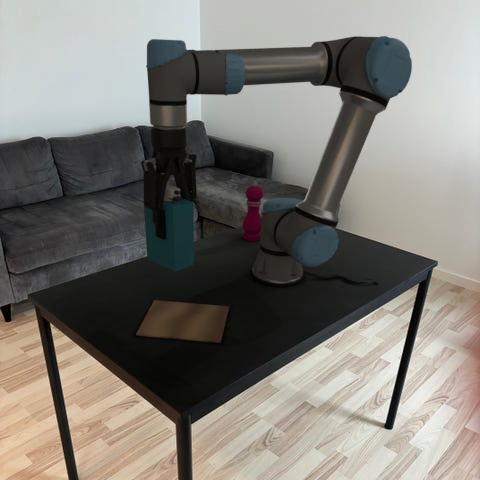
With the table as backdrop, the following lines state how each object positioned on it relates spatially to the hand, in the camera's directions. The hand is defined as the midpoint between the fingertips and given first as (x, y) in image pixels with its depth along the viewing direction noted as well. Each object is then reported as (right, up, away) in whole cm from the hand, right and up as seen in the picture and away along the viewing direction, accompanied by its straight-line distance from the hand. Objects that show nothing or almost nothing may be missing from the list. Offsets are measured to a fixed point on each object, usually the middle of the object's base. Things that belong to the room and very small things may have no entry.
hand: (172, 233), depth 110 cm
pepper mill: (+20, +9, +61) cm, 65 cm away
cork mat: (+2, -20, +9) cm, 22 cm away
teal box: (-4, +4, +3) cm, 6 cm away
